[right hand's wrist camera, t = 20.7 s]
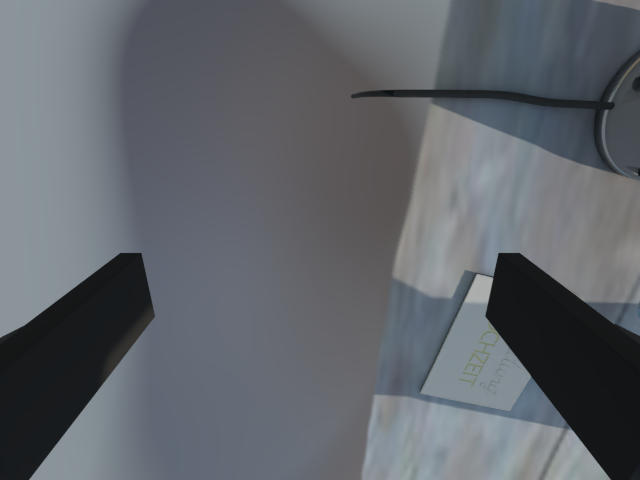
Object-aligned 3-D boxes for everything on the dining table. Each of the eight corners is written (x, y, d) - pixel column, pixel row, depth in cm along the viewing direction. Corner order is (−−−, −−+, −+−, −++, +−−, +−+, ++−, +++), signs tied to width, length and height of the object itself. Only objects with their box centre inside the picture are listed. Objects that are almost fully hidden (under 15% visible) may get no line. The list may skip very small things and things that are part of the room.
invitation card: (477, 274, 45) (580, 298, 46) (476, 273, 45) (579, 297, 46) (420, 394, 52) (510, 411, 54) (419, 392, 53) (509, 410, 54)
